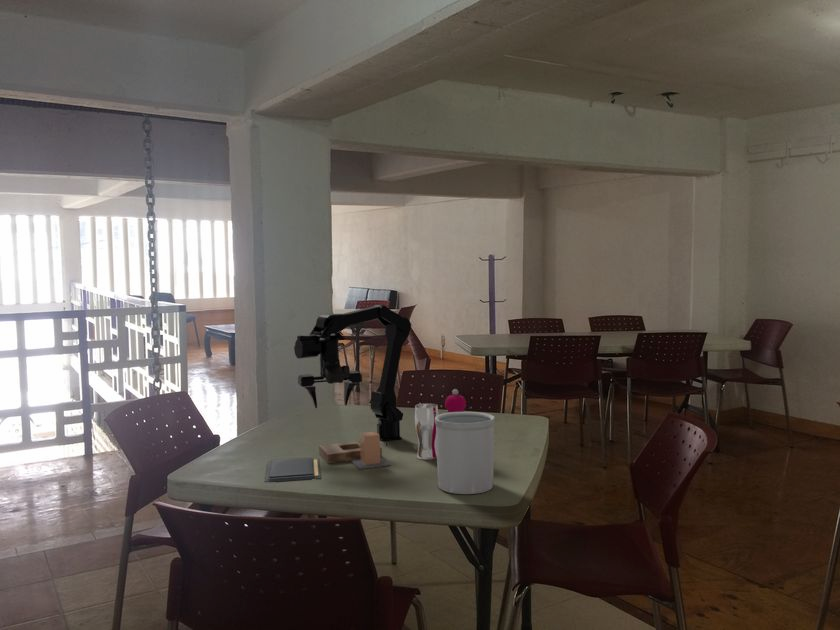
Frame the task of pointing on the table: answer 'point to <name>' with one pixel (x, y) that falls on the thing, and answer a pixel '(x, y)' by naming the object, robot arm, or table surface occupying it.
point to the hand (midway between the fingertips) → (330, 406)
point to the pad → (362, 466)
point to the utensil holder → (465, 452)
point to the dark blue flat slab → (293, 470)
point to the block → (370, 448)
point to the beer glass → (426, 430)
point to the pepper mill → (455, 402)
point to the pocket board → (341, 452)
